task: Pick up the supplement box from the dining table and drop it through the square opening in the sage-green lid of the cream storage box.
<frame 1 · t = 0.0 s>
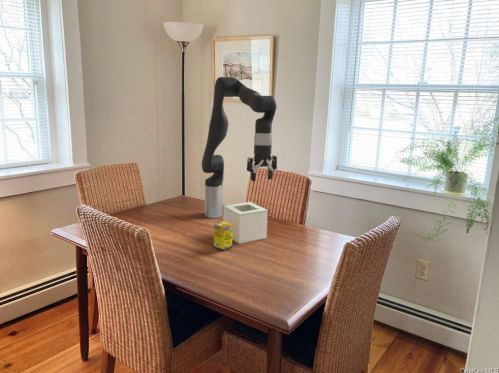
hand: (261, 180, 180), 29 cm above the table, tool pointing down, fingers open, 8 cm apart
supplement box: (223, 248, 181), on the table
storage box: (244, 235, 196), on the table
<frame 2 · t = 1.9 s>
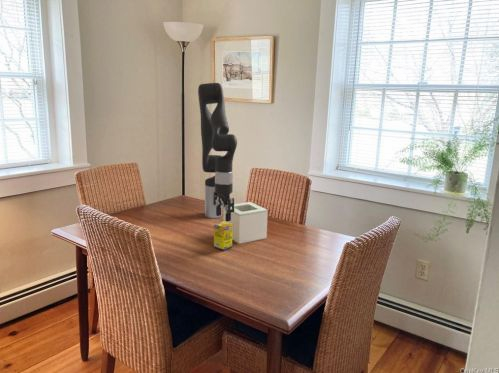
hand: (223, 218, 177), 14 cm above the table, tool pointing down, fingers open, 8 cm apart
nothing on the table moved.
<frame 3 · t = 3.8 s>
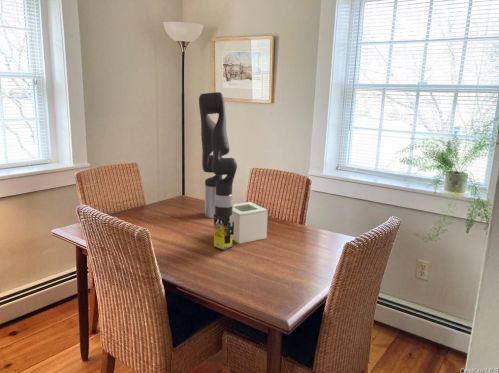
hand: (223, 240, 180), 3 cm above the table, tool pointing down, fingers closed on supplement box, 7 cm apart
supplement box: (223, 248, 181), on the table, touching gripper
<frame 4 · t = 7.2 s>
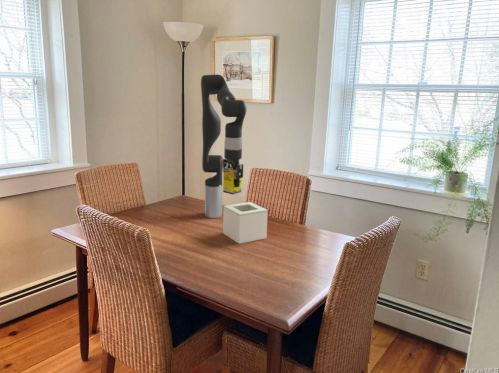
hand: (232, 184, 180), 27 cm above the table, tool pointing down, fingers closed on supplement box, 7 cm apart
supplement box: (232, 192, 181), point 23 cm above the table, touching gripper
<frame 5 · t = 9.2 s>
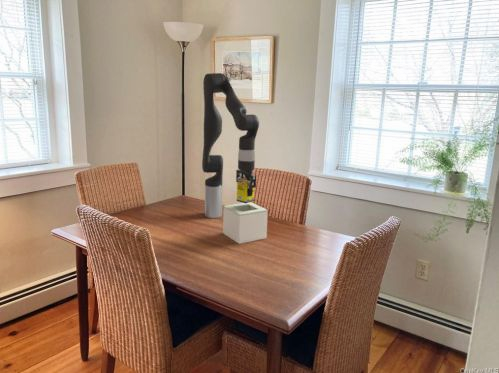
hand: (245, 194, 191), 20 cm above the table, tool pointing down, fingers closed on supplement box, 7 cm apart
supplement box: (245, 201, 192), point 17 cm above the table, touching gripper
when the fingers open (19 cm above the table, at t = 10.6 s): supplement box drops 14 cm, resting on storage box.
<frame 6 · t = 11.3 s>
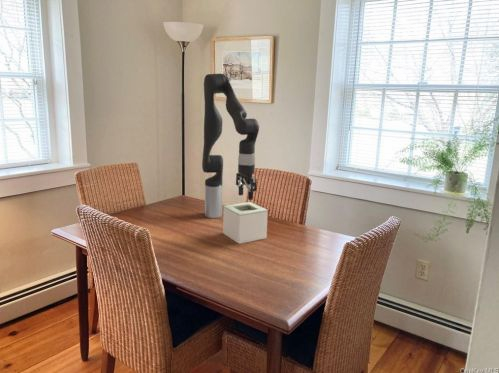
hand: (245, 197, 191), 19 cm above the table, tool pointing down, fingers open, 8 cm apart
supplement box: (245, 233, 196), point 1 cm above the table, touching storage box
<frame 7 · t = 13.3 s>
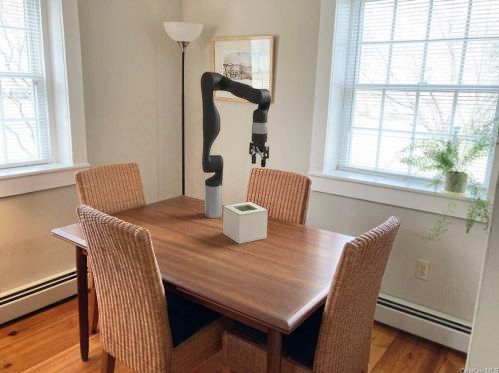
hand: (258, 165, 199), 32 cm above the table, tool pointing down, fingers open, 8 cm apart
nothing on the table moved.
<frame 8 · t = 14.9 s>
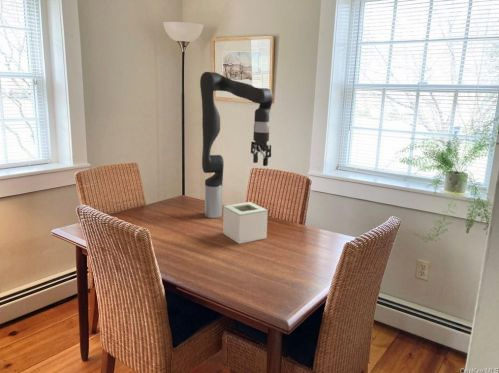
hand: (260, 164, 201), 32 cm above the table, tool pointing down, fingers open, 8 cm apart
nothing on the table moved.
at the end: supplement box inside the target area on the storage box (0.9 cm from its centre), point 0.3 cm above the storage box's base; the gripper is holding nothing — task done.
